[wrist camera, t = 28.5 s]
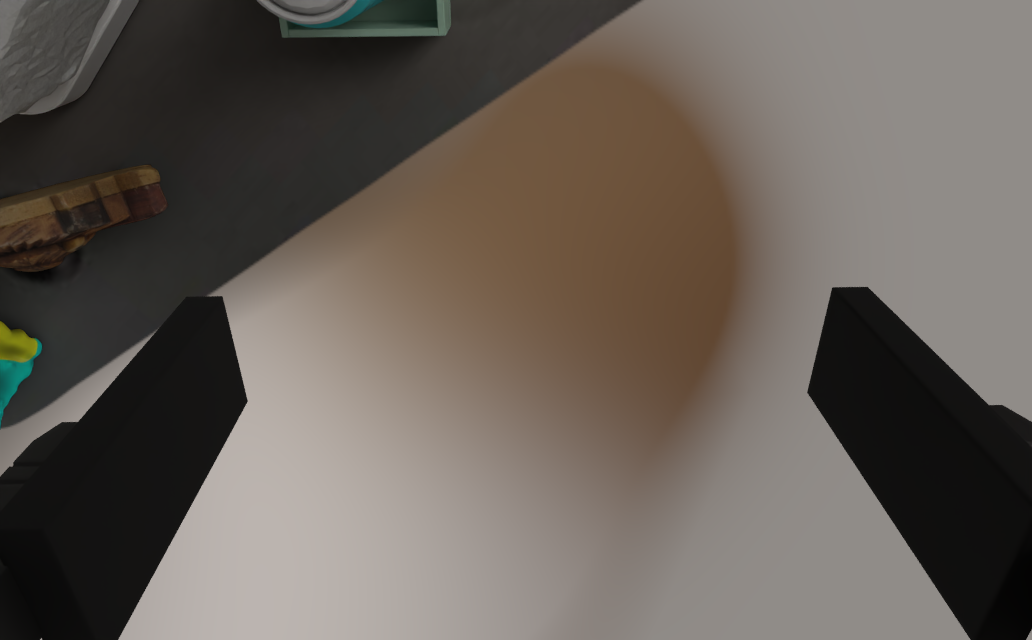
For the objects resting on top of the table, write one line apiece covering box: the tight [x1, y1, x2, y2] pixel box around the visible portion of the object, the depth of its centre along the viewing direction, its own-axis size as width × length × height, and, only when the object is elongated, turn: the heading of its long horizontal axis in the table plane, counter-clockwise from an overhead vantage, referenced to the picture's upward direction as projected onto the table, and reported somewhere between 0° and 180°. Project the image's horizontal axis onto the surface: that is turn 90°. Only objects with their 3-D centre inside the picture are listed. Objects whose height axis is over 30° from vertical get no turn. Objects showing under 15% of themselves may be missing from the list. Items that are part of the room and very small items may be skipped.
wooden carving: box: [0, 165, 168, 272], centre depth 42 cm, size 16×5×10 cm, turn 108°
